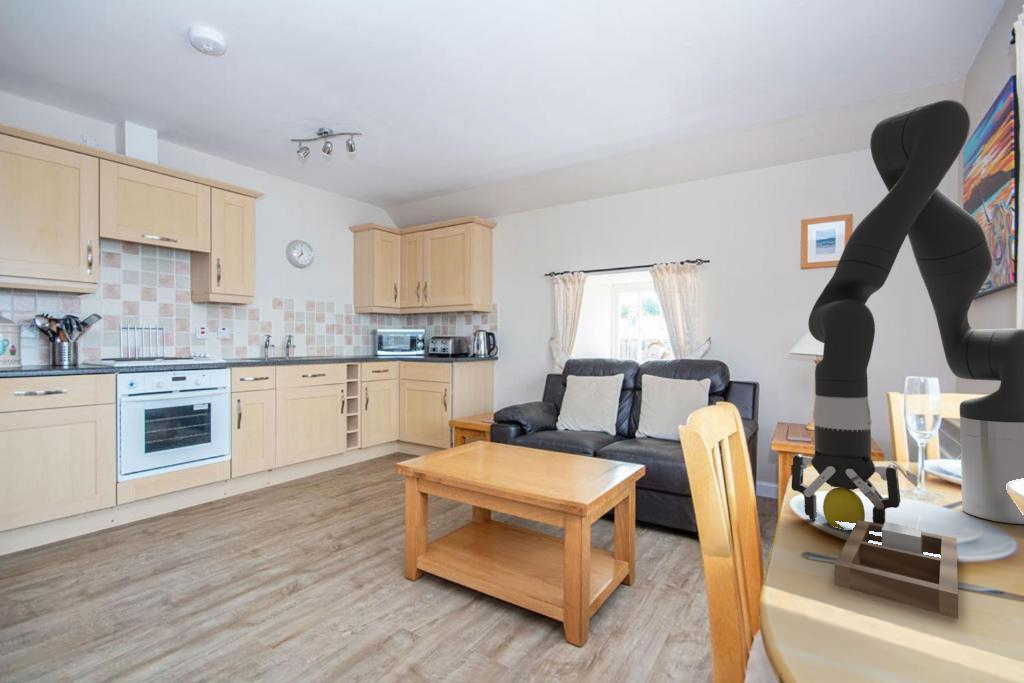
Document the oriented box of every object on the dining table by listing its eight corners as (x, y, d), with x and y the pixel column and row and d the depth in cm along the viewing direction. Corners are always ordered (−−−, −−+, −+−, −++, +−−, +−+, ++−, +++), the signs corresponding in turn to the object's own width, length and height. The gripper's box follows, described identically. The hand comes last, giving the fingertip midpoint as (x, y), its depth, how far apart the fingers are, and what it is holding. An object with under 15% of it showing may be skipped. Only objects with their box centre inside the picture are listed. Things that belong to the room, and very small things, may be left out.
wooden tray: (858, 546, 73) (858, 519, 73) (957, 567, 66) (956, 538, 66) (835, 596, 58) (834, 563, 58) (958, 632, 51) (957, 594, 51)
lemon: (851, 529, 80) (850, 481, 80) (873, 543, 74) (872, 491, 74) (816, 528, 80) (815, 480, 80) (835, 542, 75) (834, 490, 75)
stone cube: (885, 550, 68) (884, 521, 68) (922, 558, 65) (921, 528, 65) (882, 559, 65) (881, 529, 65) (921, 568, 62) (920, 537, 62)
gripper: (786, 422, 79) (788, 520, 79) (895, 431, 70) (898, 543, 70) (796, 417, 85) (798, 509, 85) (900, 425, 75) (902, 529, 75)
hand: (843, 524), depth 77 cm, fingers open, 8 cm apart
